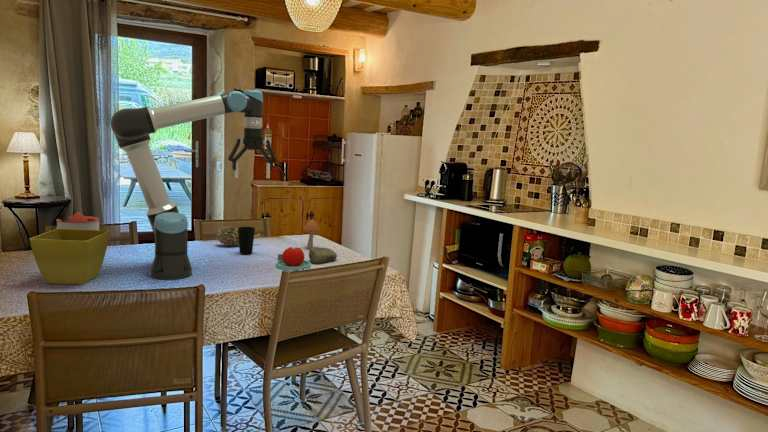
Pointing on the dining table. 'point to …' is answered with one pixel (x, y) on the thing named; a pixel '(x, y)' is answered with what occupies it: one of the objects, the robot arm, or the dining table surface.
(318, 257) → the stone
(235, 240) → the pine cone
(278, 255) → the rail
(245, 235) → the cup
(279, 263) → the dish
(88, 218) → the citrus juicer
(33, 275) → the dining table surface
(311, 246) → the mushroom
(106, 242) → the flower pot
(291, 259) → the tomato
